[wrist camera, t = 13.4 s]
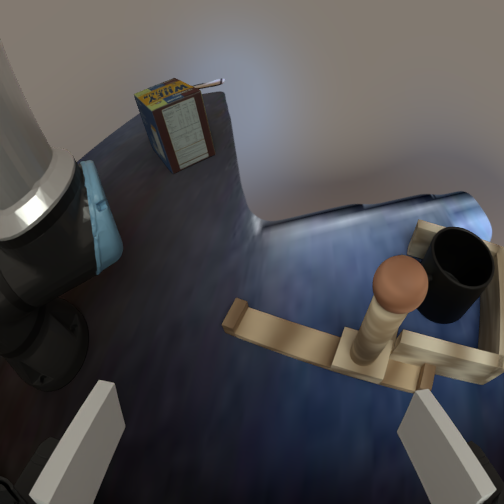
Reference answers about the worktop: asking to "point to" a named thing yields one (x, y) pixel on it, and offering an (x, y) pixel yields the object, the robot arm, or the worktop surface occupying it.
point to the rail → (313, 345)
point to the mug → (455, 274)
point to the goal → (450, 354)
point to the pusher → (382, 319)
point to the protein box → (176, 123)
